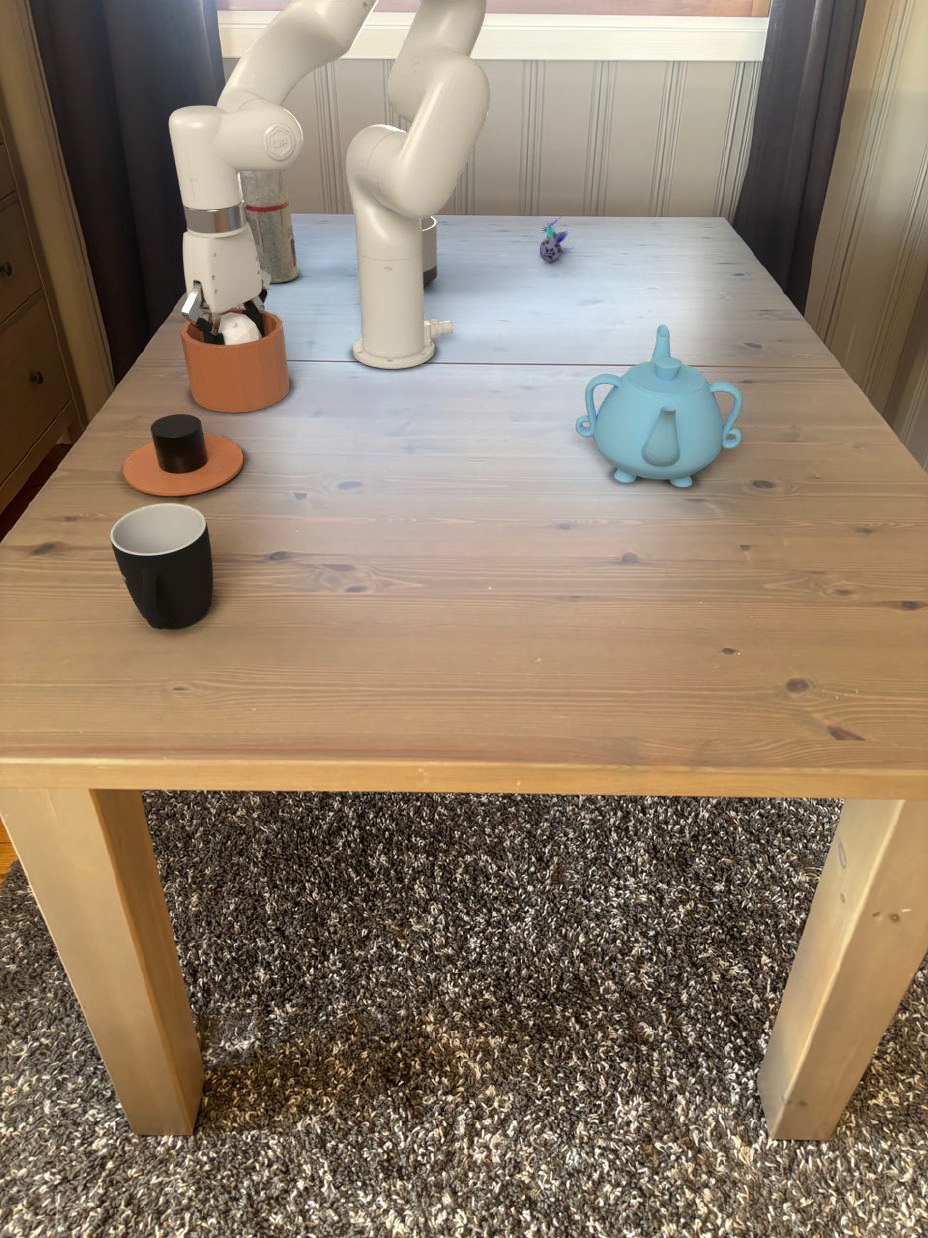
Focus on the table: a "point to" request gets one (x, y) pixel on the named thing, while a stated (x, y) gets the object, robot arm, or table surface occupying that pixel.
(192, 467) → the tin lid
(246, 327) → the ornament
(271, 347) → the orange hollow cylinder
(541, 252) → the figurine
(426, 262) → the planter
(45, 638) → the table surface
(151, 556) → the mug
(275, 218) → the spray can
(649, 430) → the teapot
